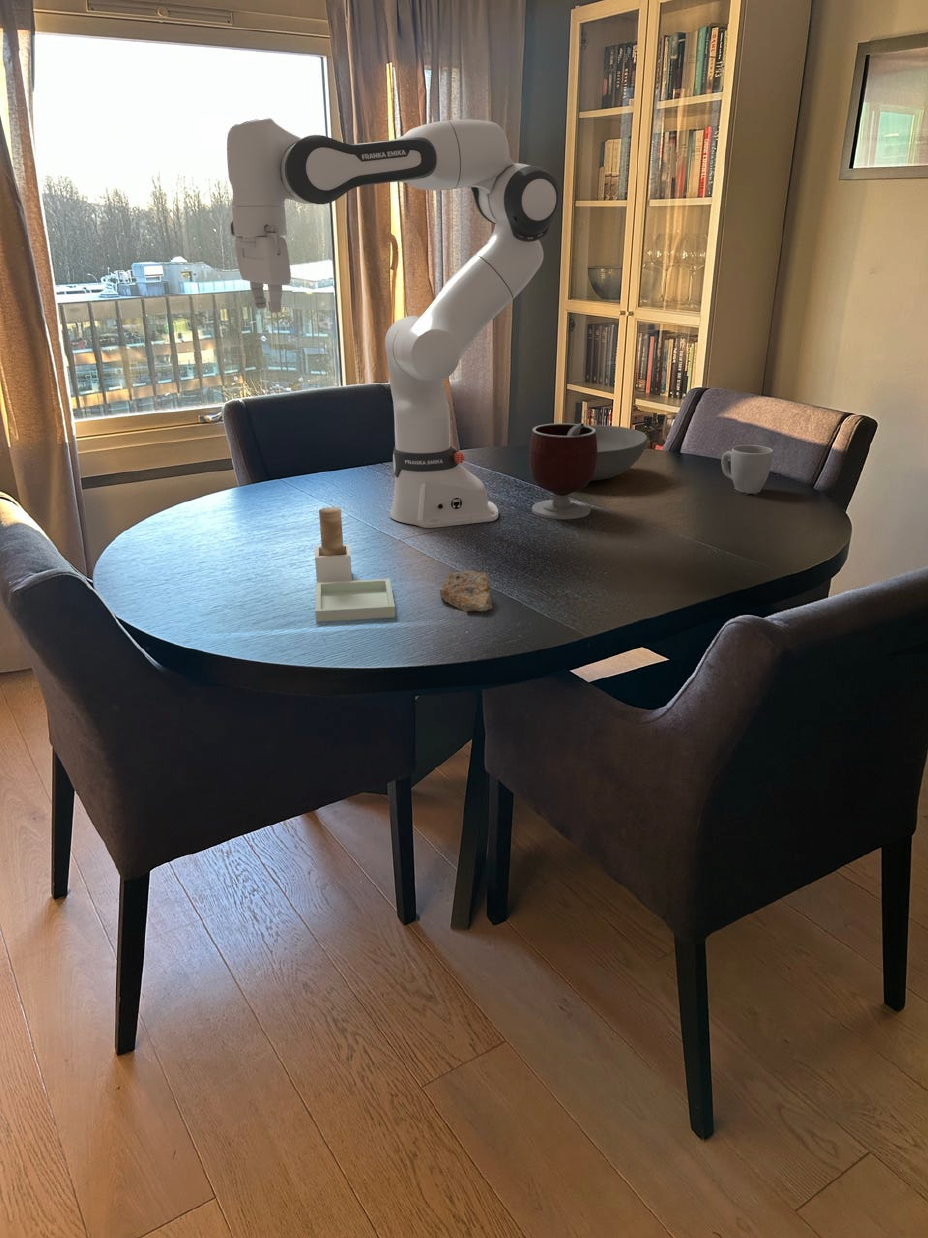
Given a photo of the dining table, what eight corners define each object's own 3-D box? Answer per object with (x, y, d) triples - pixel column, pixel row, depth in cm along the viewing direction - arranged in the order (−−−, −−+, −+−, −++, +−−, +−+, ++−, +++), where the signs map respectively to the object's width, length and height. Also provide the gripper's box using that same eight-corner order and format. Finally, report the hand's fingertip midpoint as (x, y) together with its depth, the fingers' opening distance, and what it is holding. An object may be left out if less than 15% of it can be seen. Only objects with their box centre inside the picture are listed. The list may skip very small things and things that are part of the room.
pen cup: (351, 574, 158) (349, 544, 156) (352, 587, 153) (350, 555, 151) (317, 576, 158) (315, 546, 156) (317, 588, 152) (315, 557, 150)
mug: (776, 492, 205) (781, 449, 202) (752, 499, 200) (757, 455, 197) (731, 481, 214) (736, 440, 210) (707, 487, 209) (712, 445, 205)
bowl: (653, 491, 206) (657, 447, 203) (536, 491, 207) (537, 447, 203) (635, 463, 231) (637, 423, 227) (530, 463, 231) (531, 423, 227)
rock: (437, 593, 151) (436, 605, 141) (445, 559, 150) (446, 569, 140) (487, 605, 152) (491, 619, 142) (496, 571, 151) (500, 582, 141)
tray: (390, 591, 151) (389, 578, 150) (395, 620, 140) (394, 606, 139) (316, 595, 150) (315, 582, 149) (316, 625, 139) (315, 611, 138)
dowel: (344, 574, 157) (340, 506, 152) (345, 581, 154) (341, 512, 149) (323, 575, 157) (318, 507, 152) (323, 582, 153) (318, 513, 149)
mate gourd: (518, 504, 197) (520, 411, 189) (577, 498, 201) (581, 407, 193) (546, 525, 184) (549, 425, 176) (608, 518, 188) (614, 420, 180)
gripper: (296, 224, 150) (303, 313, 155) (262, 225, 166) (269, 305, 172) (258, 225, 147) (266, 315, 153) (227, 225, 164) (236, 306, 169)
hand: (267, 310), depth 162 cm, fingers open, 8 cm apart
